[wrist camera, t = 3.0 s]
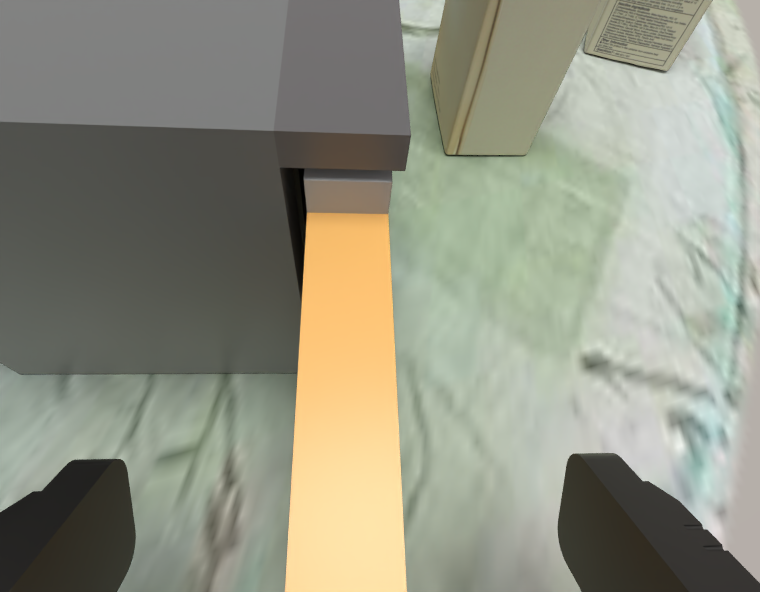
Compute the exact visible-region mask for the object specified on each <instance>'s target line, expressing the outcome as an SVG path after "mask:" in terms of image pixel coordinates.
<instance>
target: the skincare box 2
mask: <svg viewBox="0 0 760 592" xmlns="http://www.w3.org/2000/svg"><path fill="white" fill-rule="evenodd" d="M711 2H712V0H601V3H600V5H599V7H598V9H597V11H596V13H595V15H594V17H593V19H592V21H591V23H590V25H589V27H588V31H587V36H586V41H585V47H584V52H586V53H589V54H593V55H597V56H601V57H605V58H609V59H613V60H618V61H623V62H628V63H632V64H636V65H639V66H644V67H650V68H655V69H660V70H664V71H668V70H669V69H670V67H671V66H672V64H673V63H674V61H675V59H676V58H677V56H678V55H679V53H680V51H681V50H682V48H683V47H684V45H685V43H686V42H687V40H688V39H689V37H690V35H691V34H692V32H693V31H694V29H695V27H696V26H697V24H698V23H699V21H700V20H701V18H702V16H703V15H704V13H705V12H706V10H707V8H708V7H709V5H710V4H711Z"/></svg>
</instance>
